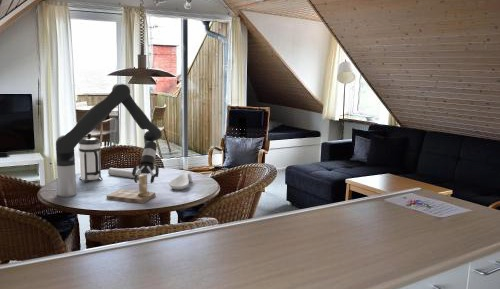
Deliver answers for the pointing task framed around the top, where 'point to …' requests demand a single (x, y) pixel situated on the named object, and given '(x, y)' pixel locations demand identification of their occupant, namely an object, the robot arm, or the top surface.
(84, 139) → the coffee press
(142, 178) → the tan wooden column
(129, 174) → the tube
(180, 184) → the spoon rest
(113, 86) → the robot arm
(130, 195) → the board
